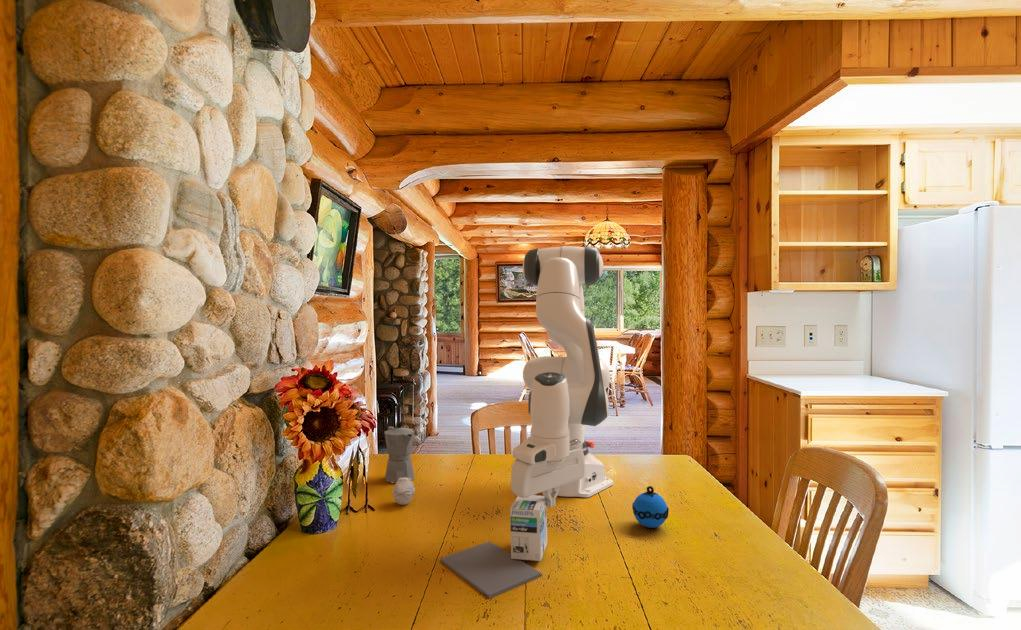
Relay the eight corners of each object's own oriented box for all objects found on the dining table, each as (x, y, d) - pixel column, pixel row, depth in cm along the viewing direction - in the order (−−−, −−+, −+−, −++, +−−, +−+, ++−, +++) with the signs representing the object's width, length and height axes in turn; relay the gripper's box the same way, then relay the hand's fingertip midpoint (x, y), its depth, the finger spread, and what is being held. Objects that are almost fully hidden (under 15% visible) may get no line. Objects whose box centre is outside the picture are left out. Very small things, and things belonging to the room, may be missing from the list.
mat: (489, 543, 122) (489, 541, 121) (541, 576, 107) (541, 573, 107) (440, 561, 114) (440, 558, 113) (489, 598, 99) (489, 595, 99)
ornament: (625, 527, 130) (626, 486, 130) (643, 516, 137) (643, 478, 136) (657, 537, 125) (658, 495, 124) (674, 526, 131) (674, 486, 131)
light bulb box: (541, 562, 111) (540, 510, 112) (510, 559, 113) (509, 508, 113) (547, 542, 122) (547, 494, 122) (519, 540, 123) (518, 493, 123)
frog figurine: (418, 499, 149) (417, 474, 148) (410, 509, 142) (410, 483, 142) (396, 498, 149) (396, 474, 149) (388, 508, 142) (388, 482, 142)
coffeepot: (424, 480, 164) (424, 422, 163) (398, 488, 157) (397, 428, 157) (397, 469, 175) (396, 415, 174) (371, 476, 168) (371, 419, 168)
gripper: (572, 434, 128) (572, 490, 129) (506, 451, 116) (506, 513, 116) (591, 440, 124) (591, 498, 124) (525, 458, 111) (525, 523, 111)
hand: (550, 506), depth 120 cm, fingers closed, pressing on light bulb box
